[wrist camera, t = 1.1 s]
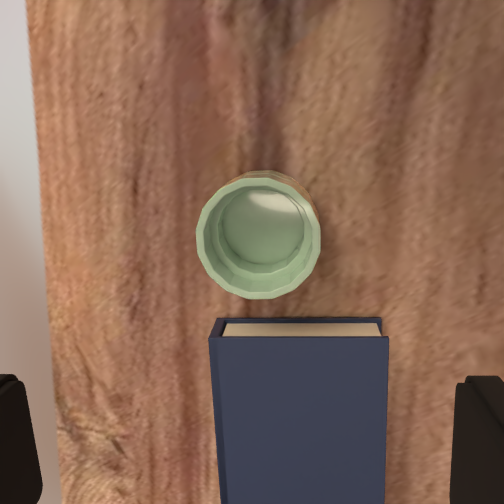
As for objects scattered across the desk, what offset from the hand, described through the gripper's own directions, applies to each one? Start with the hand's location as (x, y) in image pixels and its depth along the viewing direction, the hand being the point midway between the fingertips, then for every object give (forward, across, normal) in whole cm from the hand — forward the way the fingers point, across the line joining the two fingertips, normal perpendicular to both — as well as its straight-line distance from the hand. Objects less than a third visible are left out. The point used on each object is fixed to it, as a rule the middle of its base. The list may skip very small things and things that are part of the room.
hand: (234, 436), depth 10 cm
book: (+22, -1, +14) cm, 26 cm away
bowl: (+22, +1, 0) cm, 22 cm away
